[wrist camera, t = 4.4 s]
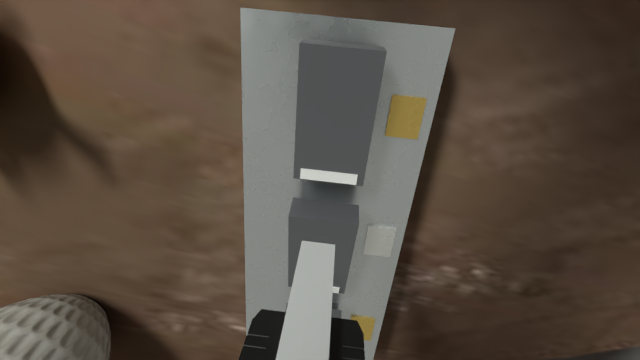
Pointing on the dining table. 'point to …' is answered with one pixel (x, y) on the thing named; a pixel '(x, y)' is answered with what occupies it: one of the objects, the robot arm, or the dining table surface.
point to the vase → (54, 329)
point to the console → (373, 197)
